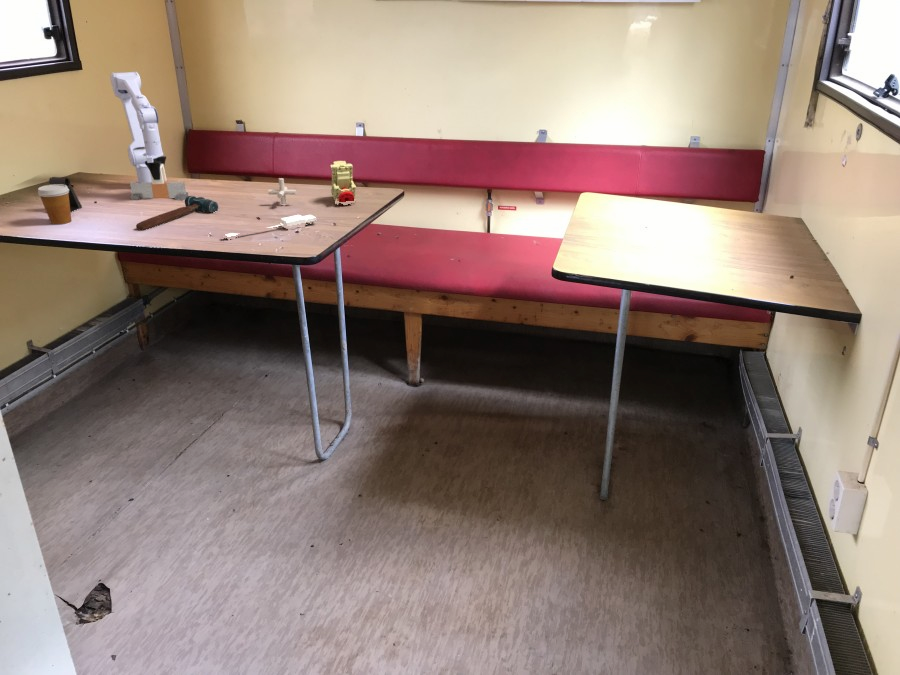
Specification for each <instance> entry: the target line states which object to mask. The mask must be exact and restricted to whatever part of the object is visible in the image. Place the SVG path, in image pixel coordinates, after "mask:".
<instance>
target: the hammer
mask: <svg viewBox="0 0 900 675" xmlns="http://www.w3.org/2000/svg"><path fill="white" fill-rule="evenodd" d="M218 209H219V204H218V203H217V201H215V200H212V199H207V198H205V197H203V196H198V197H196V196H195V195H188V197H186V198H185V199H184V206H183V207H180V208H176V209H172V210H170V211H167V212H164V213H161V214H158V215H155V216H152V217H150V218H147V219H144V220H142V221H140V222H137V223H136V225H135V228H136V230H138V231H146V229H147V230H149V228H150V229H153V228H156V227H158V226H161V225H163V223H164V224H166V223H168V221H169V222H171V221H174V220H175V219H178V218H179V217H182V216H184V215H186V214H189V213H190V212H192V211H193V210H194V211H195V212H198V211H202V212H203V213H206V212H210V213H209V214H213V213H212V212H215V211H217V212H218V211H219V210H218ZM215 213H216V212H215ZM160 224H161V225H160ZM157 225H158V226H157ZM155 226H156V227H155ZM152 227H153V228H152Z"/></svg>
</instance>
